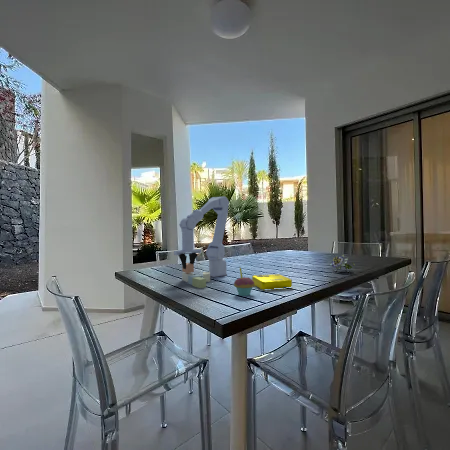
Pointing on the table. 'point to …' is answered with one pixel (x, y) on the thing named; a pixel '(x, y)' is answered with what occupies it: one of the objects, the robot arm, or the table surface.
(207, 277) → the cream brick
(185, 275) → the grey brick
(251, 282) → the cupcake
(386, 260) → the table surface
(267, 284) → the element tile
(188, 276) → the blue brick
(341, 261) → the passion flower
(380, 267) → the table surface
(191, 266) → the terracotta brick
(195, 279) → the olive brick
